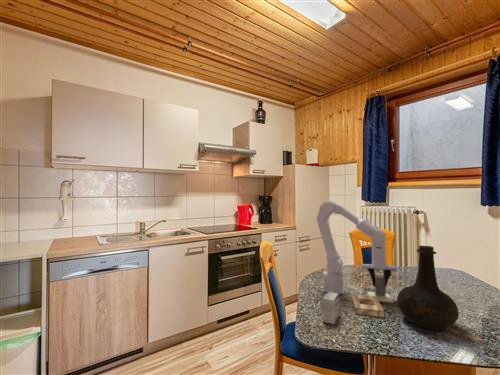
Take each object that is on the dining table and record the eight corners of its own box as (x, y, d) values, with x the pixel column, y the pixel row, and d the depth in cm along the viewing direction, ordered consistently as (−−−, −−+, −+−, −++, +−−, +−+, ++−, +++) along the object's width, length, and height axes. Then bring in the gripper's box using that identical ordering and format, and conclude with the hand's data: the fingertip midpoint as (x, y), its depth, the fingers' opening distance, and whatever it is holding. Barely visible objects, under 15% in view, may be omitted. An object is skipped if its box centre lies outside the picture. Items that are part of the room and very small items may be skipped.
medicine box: (334, 325, 89) (334, 300, 89) (322, 321, 91) (322, 298, 91) (339, 316, 95) (339, 293, 96) (327, 313, 98) (327, 291, 98)
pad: (370, 300, 110) (370, 299, 110) (367, 292, 118) (367, 291, 118) (393, 303, 107) (393, 301, 107) (388, 295, 115) (388, 293, 115)
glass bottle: (387, 312, 98) (386, 241, 99) (430, 311, 99) (428, 241, 100) (422, 338, 80) (419, 251, 81) (473, 336, 81) (470, 250, 82)
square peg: (375, 295, 111) (375, 277, 111) (374, 291, 115) (373, 274, 115) (385, 296, 110) (385, 278, 110) (383, 292, 114) (383, 275, 114)
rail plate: (355, 313, 97) (355, 307, 97) (352, 299, 110) (352, 293, 111) (383, 317, 94) (383, 310, 94) (377, 302, 107) (377, 296, 107)
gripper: (362, 256, 112) (363, 287, 111) (398, 259, 107) (399, 291, 107) (360, 253, 118) (361, 282, 118) (394, 255, 114) (395, 285, 113)
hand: (379, 286), depth 113 cm, fingers closed on square peg, 4 cm apart
